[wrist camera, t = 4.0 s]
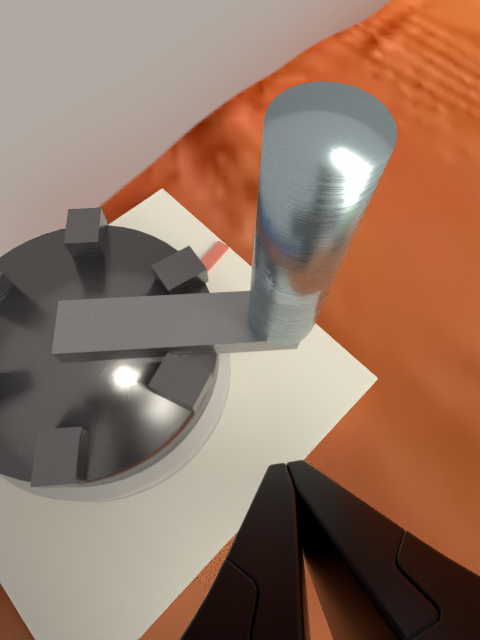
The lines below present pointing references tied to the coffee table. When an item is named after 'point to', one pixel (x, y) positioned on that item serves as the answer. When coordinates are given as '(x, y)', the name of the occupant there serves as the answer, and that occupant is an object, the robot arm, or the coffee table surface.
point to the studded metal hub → (175, 301)
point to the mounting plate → (189, 509)
